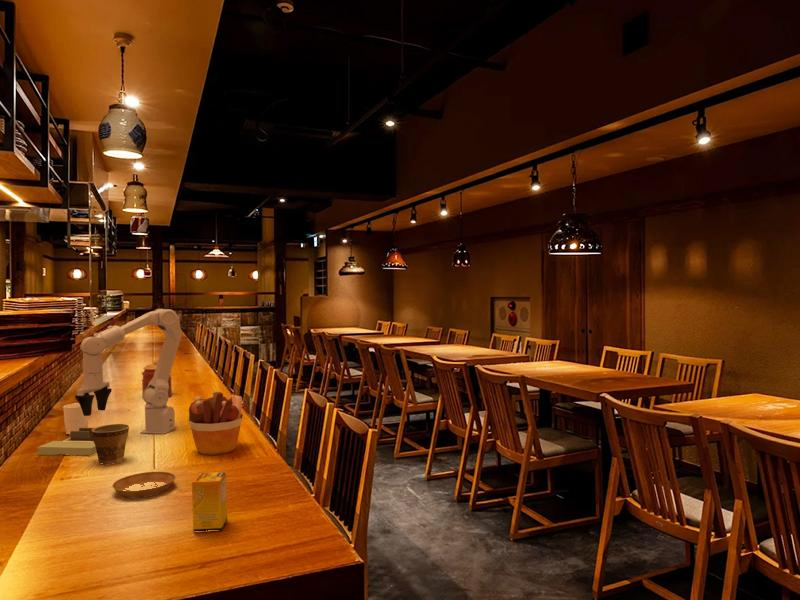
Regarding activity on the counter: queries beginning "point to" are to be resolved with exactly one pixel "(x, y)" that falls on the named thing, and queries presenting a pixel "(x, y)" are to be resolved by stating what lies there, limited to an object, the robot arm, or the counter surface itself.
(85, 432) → the chute
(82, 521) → the counter surface
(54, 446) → the tan bracket
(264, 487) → the counter surface
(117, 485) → the plant saucer
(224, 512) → the supplement box
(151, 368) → the canister
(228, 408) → the bucket of meat
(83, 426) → the white cup
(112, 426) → the ceramic cup
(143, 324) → the robot arm
